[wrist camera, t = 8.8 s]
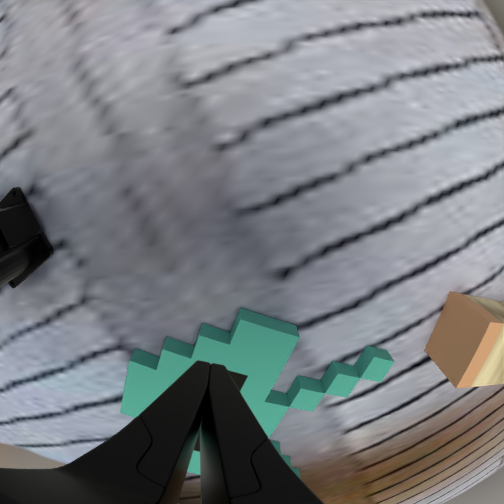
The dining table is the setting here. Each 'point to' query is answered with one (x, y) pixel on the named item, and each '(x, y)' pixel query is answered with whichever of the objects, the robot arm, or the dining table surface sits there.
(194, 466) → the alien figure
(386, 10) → the dining table surface
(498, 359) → the maple block
